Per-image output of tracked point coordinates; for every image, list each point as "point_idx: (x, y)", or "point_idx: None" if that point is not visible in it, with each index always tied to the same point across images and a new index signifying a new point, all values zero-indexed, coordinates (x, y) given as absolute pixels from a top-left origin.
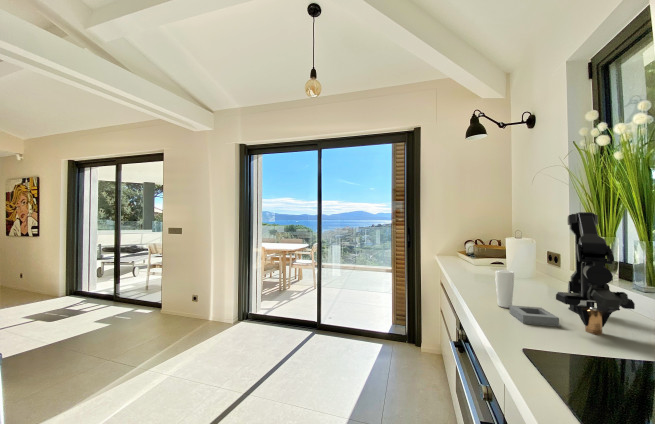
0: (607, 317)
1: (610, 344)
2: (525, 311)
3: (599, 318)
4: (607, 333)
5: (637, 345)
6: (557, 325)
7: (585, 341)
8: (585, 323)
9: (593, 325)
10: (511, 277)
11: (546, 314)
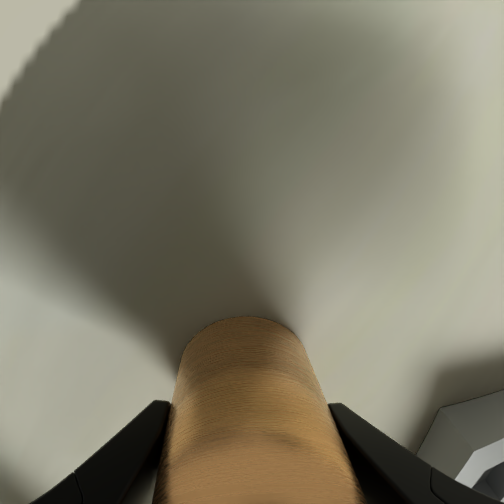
0: (78, 483)
1: (321, 69)
2: None
3: (243, 465)
4: (124, 366)
5: (55, 106)
6: (451, 411)
7: (482, 129)
8: (357, 417)
9: (303, 385)
10: None
11: (476, 480)
